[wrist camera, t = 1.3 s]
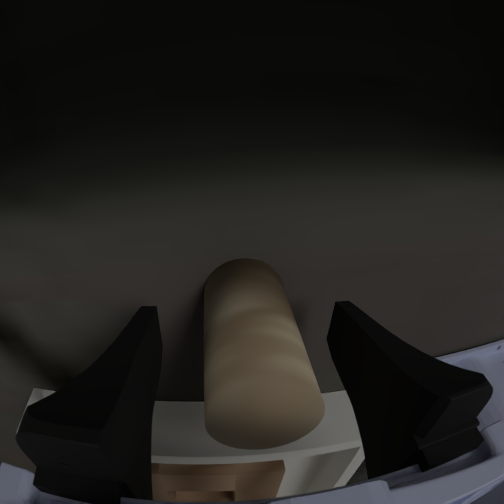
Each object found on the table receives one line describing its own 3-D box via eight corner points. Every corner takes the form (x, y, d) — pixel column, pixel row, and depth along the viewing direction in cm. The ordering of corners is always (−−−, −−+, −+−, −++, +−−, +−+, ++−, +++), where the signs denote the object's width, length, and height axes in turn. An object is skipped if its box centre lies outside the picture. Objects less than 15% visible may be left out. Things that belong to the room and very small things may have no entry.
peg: (286, 258, 14) (337, 378, 8) (278, 322, 16) (312, 443, 10) (203, 258, 14) (201, 387, 8) (205, 324, 15) (207, 451, 9)
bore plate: (280, 447, 20) (285, 470, 18) (266, 498, 25) (269, 514, 24) (114, 447, 19) (111, 469, 17) (147, 499, 24) (146, 515, 22)
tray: (359, 388, 19) (380, 434, 16) (303, 498, 29) (310, 526, 26) (33, 387, 17) (16, 432, 13) (115, 500, 26) (113, 528, 23)
